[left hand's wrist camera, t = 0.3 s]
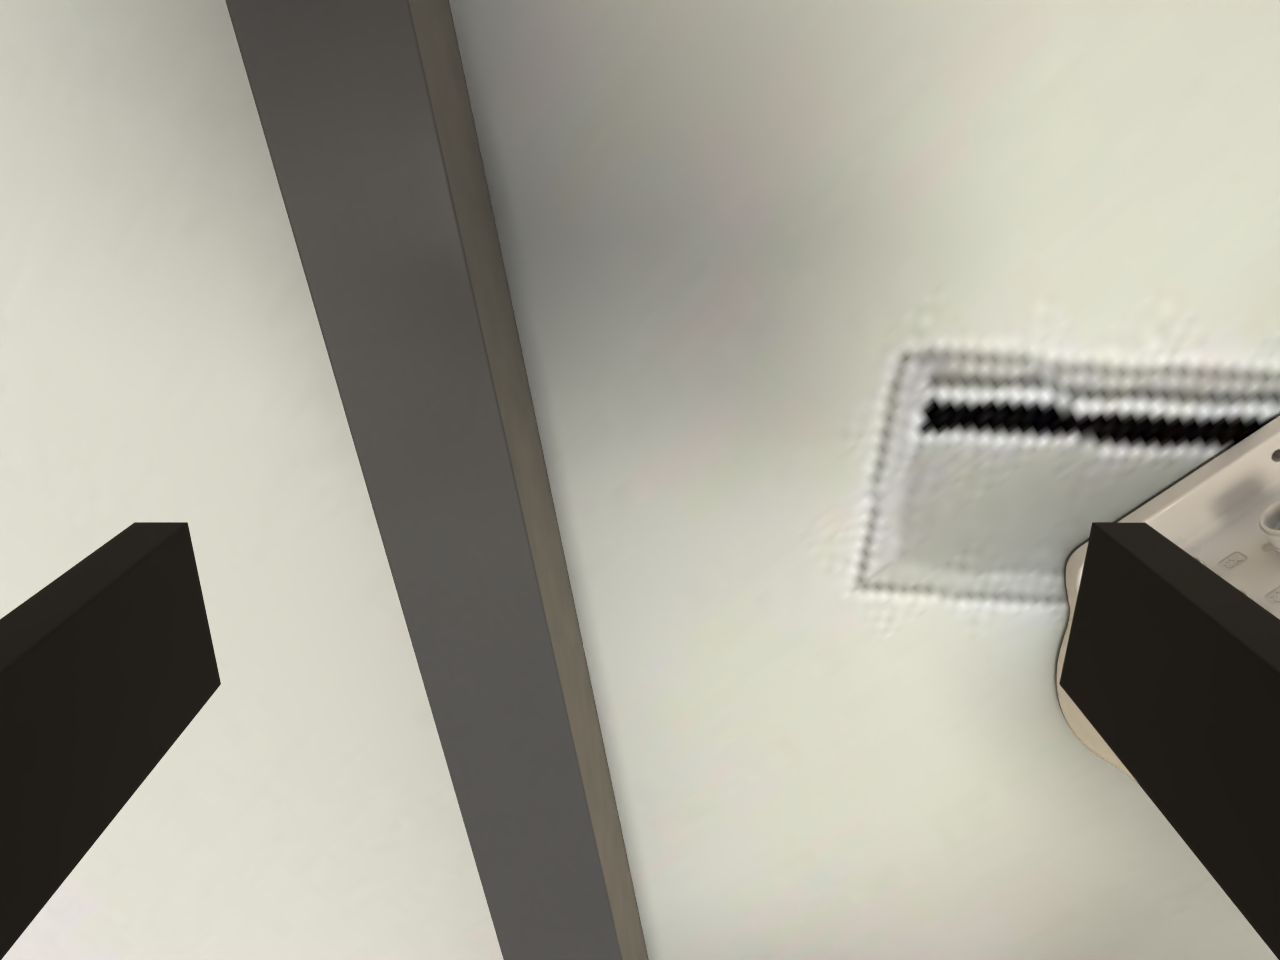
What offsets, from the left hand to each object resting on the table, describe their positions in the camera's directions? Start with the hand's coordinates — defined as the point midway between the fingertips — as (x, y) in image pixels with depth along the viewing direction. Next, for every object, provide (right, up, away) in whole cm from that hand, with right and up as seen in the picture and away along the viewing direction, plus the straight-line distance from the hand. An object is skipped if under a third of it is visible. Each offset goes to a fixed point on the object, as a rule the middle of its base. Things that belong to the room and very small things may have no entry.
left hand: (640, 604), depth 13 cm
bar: (-5, -10, +32) cm, 34 cm away
